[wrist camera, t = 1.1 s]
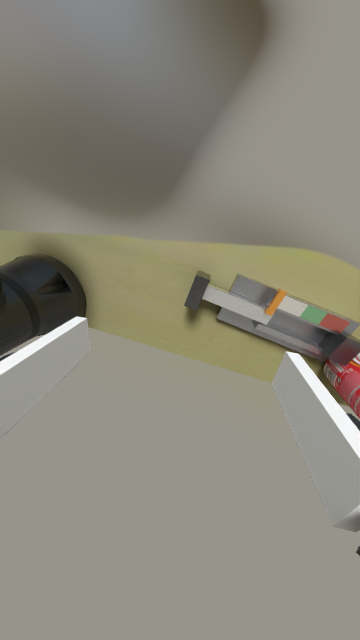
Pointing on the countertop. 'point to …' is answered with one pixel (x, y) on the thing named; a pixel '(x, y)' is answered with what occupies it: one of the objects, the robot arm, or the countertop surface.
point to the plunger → (230, 300)
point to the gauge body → (296, 324)
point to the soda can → (346, 381)
